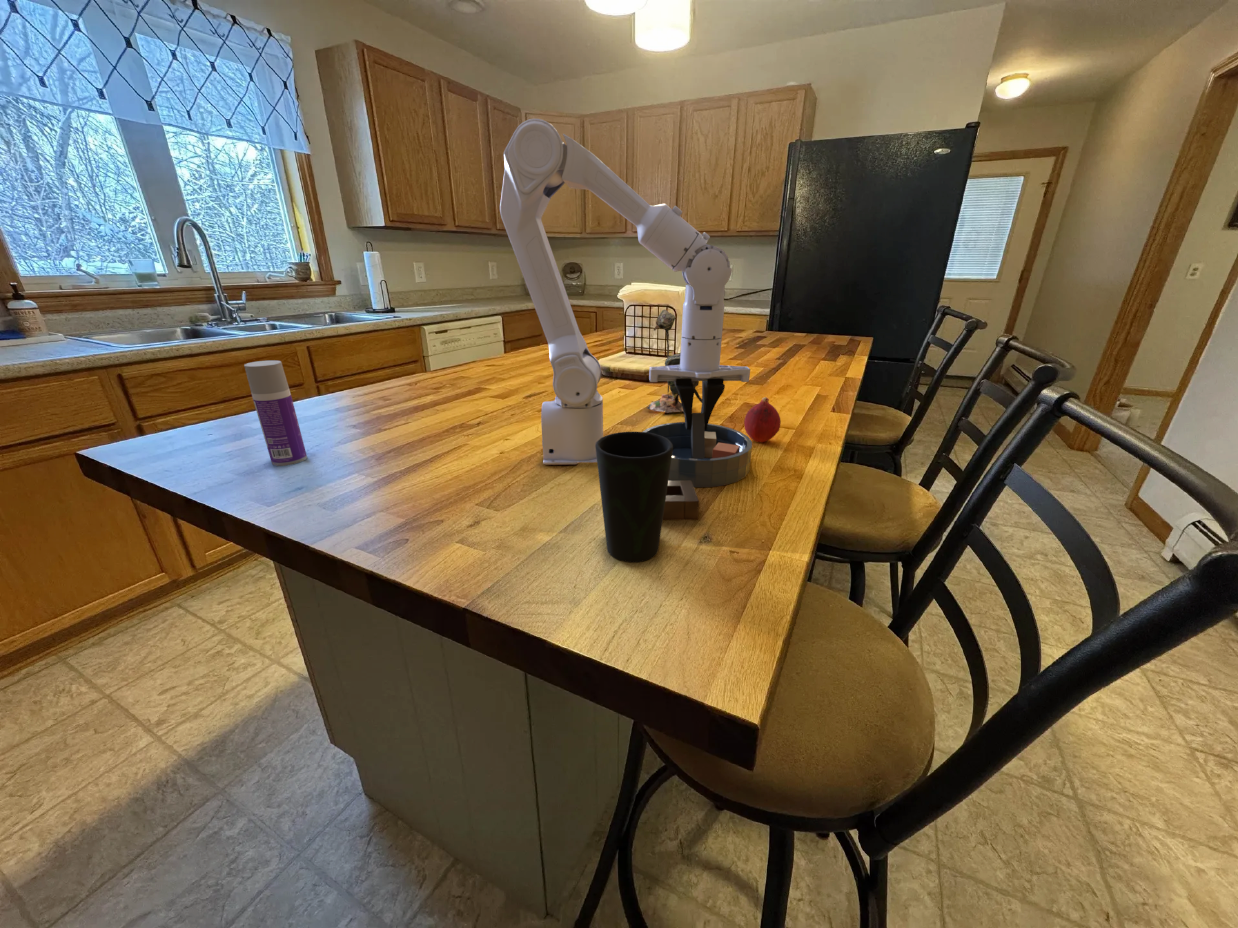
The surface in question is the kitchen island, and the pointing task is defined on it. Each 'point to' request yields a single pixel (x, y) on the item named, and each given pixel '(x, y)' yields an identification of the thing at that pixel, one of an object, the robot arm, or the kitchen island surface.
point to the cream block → (709, 443)
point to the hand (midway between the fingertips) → (695, 427)
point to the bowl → (707, 469)
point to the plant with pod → (668, 401)
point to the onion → (762, 421)
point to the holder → (681, 501)
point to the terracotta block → (725, 450)
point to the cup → (633, 492)
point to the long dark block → (697, 436)
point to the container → (276, 412)
